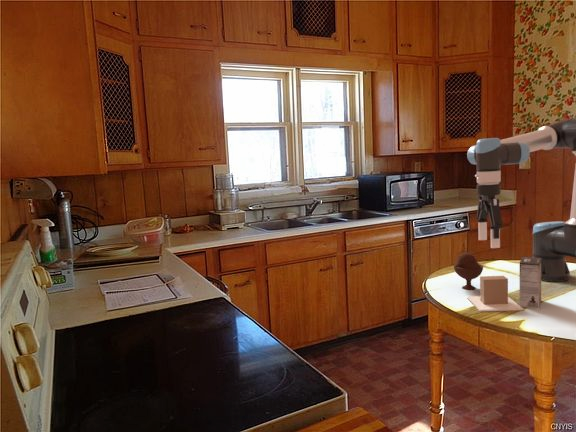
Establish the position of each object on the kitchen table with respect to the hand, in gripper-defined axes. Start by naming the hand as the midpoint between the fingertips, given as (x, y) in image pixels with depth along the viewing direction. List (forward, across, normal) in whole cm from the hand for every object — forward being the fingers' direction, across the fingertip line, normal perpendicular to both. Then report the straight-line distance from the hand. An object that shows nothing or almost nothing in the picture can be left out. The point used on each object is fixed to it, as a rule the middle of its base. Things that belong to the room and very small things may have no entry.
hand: (488, 243), depth 153 cm
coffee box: (+22, +2, +13) cm, 26 cm away
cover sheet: (+22, +1, +1) cm, 22 cm away
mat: (+22, +1, +1) cm, 22 cm away
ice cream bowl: (+22, -18, -2) cm, 28 cm away
